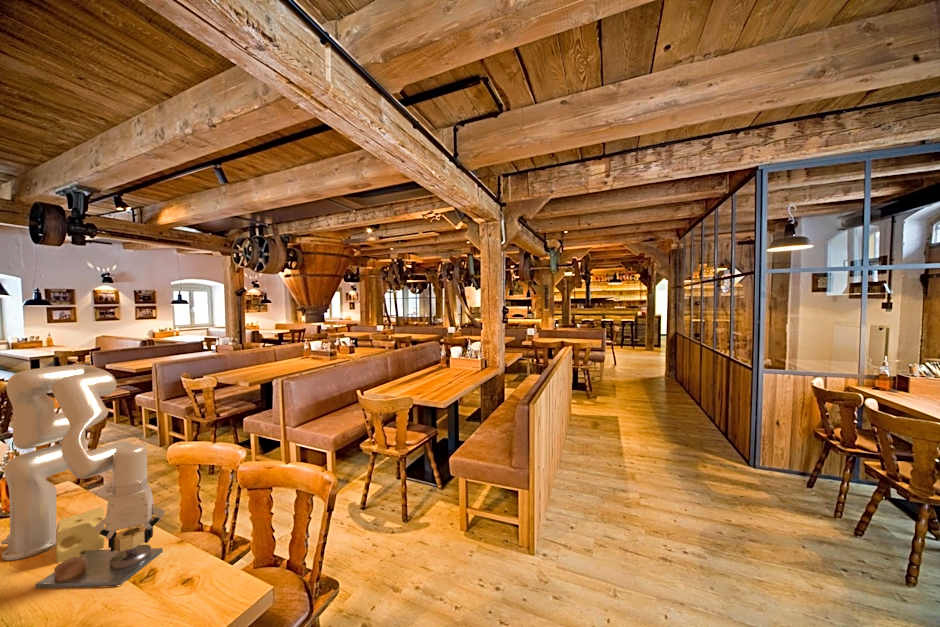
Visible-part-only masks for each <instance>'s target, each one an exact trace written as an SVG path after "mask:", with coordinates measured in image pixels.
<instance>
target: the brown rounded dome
mask: <svg viewBox="0 0 940 627" xmlns="http://www.w3.org/2000/svg"><path fill="white" fill-rule="evenodd" d="M85 570H86V557H85V556H80V555H78V556H76V557H73V558H70V559H68V560H65V561H62V562H59V564H56V566H55V567H54V572H55V581H57V582H61V581H65V580H69V579H71V578H74V577H76V576H78V575H80V574H81V573H82V572H84V571H85Z"/></svg>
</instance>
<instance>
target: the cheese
mask: <svg viewBox="0 0 940 627" xmlns="http://www.w3.org/2000/svg"><path fill="white" fill-rule="evenodd" d="M103 519H105V510H104V506H100V507H97V508H94V509H92V510H89V511H86V512H82V513H79V514H75V515H72V516H68V517H65V518H61V519H59V520H58V523H57V525H56V545H55V548H56V549H55V558H56V562H57V564H58V563H59V564H60V563H62V562H64V561H66V560H68V559H71V558H74V557H79V556H80V555H82V554H84V553H85V552H87V551H88V550H102V548H104V546H105V541H106V537H105V536H103V535H101V534H100V533H99V532H97V531H96V530H94V527H95V526H96V525H97V524H98V523H100V522H101V521H102V520H103Z"/></svg>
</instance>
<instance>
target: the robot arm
mask: <svg viewBox="0 0 940 627" xmlns="http://www.w3.org/2000/svg"><path fill="white" fill-rule="evenodd" d="M116 389H117V380H116V378H115V376H114V375H113V374H112V373H110V372H109V371H107V370H104V369H102V368H99V367H96V366H92V365H89V364H83V363H80V364H79V363H78V364H69V365H68V364H66V365H59V366H47V367H39V368H31V369H27V370H23V371H22V370H21V371H19V372H18V371H17V372H16V373H14V374H13V375H12V376H11V377H10V378H8V381H7V383H6V390H5V391H6V394H7V398H8V399H9V402H10V403H11V407H12V441H13V445H14V446H15V447H16V449H19V450H30V449H33V448H39V449H36V450H32V451H27V452H26V453H22V454H20V455H17V456H15V457H14V458H12V459H10V460H9V461H8V462H7V463H6V464H5V467H4V471H3V472H4V476H5V480H6V482H7V486H8V495H9V534H8V535H7V536H6V538H5V539H3V540H1V542H0V545H7V548H6V549H5V550H4V551H3V552H2V554H1V559H2V560H5V561H16V560H22V559H26V558H29V557H32V556H35V555H38V554H40V553H43V552H45V551H47V550H49V549H51V548H53V547H56V530H57V488H56V486H55V485H54V483H52V482H50V481H48V480H47V478H48V477H51V476H53V475H56V474H60V473H62V472H65V471H67V470H69V471H70V473H71V474H72V475H73V476H74V477H76V478H78V479H89V478H91V477H95V476H97V475H101V474H103V473H106V472H108V471H111V470H112V481H113V482H112V486H108V487H107V488H106V492H107V493H109V492H110V493H112V494H111V495H110V496H109V498H108V502H107V507H106V513H105V514H106V515H105V517H104V519H103V520H102V521H101V522H100V523H98V524H97V525H96V526H95V527H94V530H96V531H97V532H99V533H100V534H101V535H103V536H104V538H105V539H107V542H108V544H107V545H108V549H111V552H112V551H114V537H115V536H116V534H117V533H118V532H117V531H119V530H125V529H127V528H129V527H133V526H137V525H141V524H142V525H144V526H145V527H146V530H145V542H144V544H148V543H149V542H150V540H151V538H153V536H154V526H155V525H156V524H157V523H158V522H159V521H160V520H161V518H162V517H164V516H165V514H166V510H165V509H163V508H160V507H159V506H156V505H155V501H154V496H153V492H152V488H151V485H148V448H147V446H146V445H145V444H135V443H132V442H130V441H126V440H124V441H123V440H122V441H119V442H115V443H112V444H108V445H104V446H101V447H98V448H94V449H92V450H89V451H88V450H86V430H88V429H89V428H91V427H93V426H94V425H97V424H98V423H100V422H101V421H103V420H104V419H105V418H106V417H107V416H108V415H109V410H108V409H107V406H105V403H104V402H103V400H102V398H101V397H104V396H109V395H111V394H113V393H114V392H115V391H116ZM48 394H53V397H54V398H55V400H56V401H57V403H58V405H59V408H60V410H61V411H62V412H57V413H56V412H55V401H54V400H53V399H52V398H51V397H50V396H49V395H48ZM58 442H59V443H58ZM53 443H58V444H55V445H51V446H47V445H49V444H53ZM42 446H46V447H44V448H43V447H42ZM40 447H42V448H40ZM154 514H155V515H156V517H154V518H152V517H153V515H154Z"/></svg>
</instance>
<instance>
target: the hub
mask: <svg viewBox="0 0 940 627" xmlns="http://www.w3.org/2000/svg"><path fill="white" fill-rule="evenodd" d="M151 549H152V546H151V545H149V544H141V545H139V546H137V547H135V548H133V549H129V550H125V551H121V552H119V553H118V554H116V555H115V556H114V557H112V559H111V560H110V568H111V569H112V570H121V569H125V568H129V567H132V566H134V565H136V564H138V563H140V562H142V561H144V560H145V559H146V558H147V557H148V556H149V555H150V554H151Z"/></svg>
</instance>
